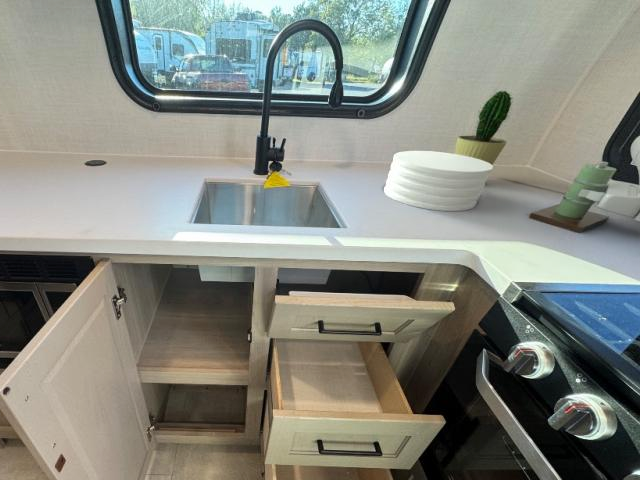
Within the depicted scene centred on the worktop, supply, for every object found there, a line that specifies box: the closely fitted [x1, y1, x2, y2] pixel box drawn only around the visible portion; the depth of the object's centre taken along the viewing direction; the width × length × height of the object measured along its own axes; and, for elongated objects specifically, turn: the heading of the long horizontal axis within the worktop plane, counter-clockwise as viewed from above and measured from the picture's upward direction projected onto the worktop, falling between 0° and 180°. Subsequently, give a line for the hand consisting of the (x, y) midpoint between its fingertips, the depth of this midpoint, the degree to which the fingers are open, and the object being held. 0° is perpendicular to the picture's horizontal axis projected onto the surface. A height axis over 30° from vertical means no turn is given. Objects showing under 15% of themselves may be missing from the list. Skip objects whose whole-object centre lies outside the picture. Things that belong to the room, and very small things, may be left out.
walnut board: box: [528, 203, 610, 234], centre depth 91 cm, size 18×12×2 cm, turn 119°
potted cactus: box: [453, 90, 514, 166], centre depth 114 cm, size 15×15×30 cm
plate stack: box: [383, 150, 494, 212], centre depth 103 cm, size 28×28×12 cm
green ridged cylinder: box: [555, 160, 617, 218], centre depth 87 cm, size 7×7×14 cm
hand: (581, 188), depth 87 cm, fingers open, 7 cm apart
